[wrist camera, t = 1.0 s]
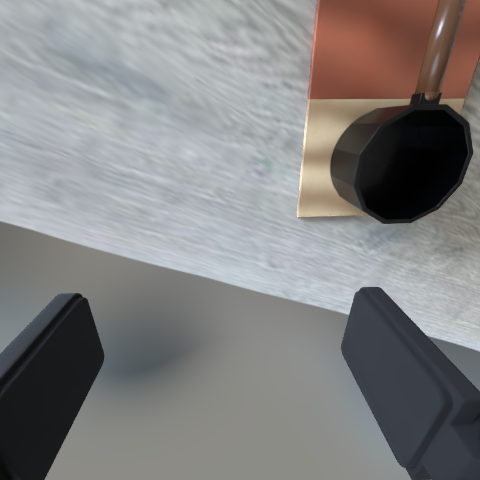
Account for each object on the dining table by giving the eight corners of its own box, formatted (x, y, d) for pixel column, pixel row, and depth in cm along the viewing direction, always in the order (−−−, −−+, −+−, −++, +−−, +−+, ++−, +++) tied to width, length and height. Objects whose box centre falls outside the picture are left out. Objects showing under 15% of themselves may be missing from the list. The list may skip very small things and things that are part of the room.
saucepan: (355, -17, 24) (401, -67, 18) (470, -15, 25) (554, -62, 19) (323, 206, 34) (346, 225, 28) (406, 204, 35) (447, 222, 28)
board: (324, -79, 23) (327, -85, 22) (516, -73, 24) (525, -79, 23) (296, 215, 35) (298, 217, 35) (423, 211, 36) (427, 213, 36)
